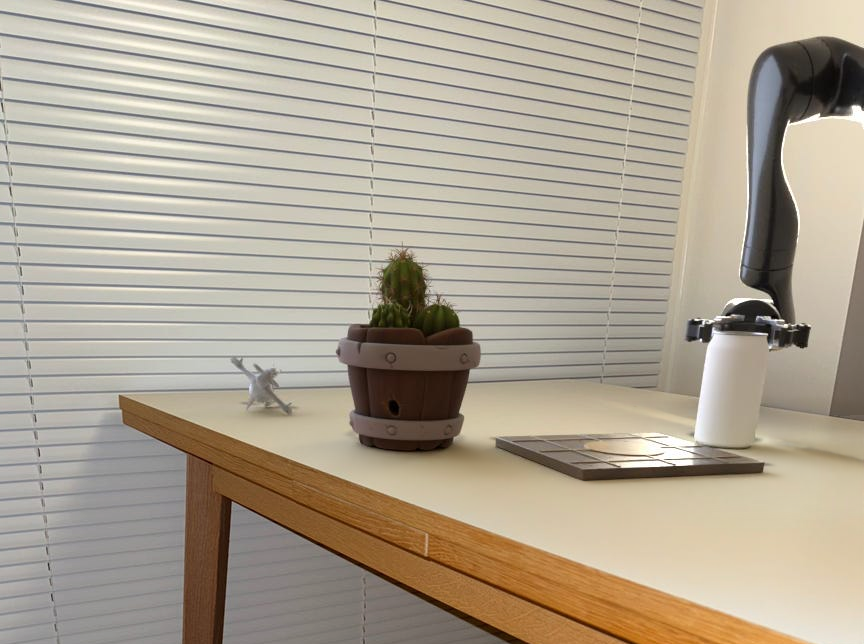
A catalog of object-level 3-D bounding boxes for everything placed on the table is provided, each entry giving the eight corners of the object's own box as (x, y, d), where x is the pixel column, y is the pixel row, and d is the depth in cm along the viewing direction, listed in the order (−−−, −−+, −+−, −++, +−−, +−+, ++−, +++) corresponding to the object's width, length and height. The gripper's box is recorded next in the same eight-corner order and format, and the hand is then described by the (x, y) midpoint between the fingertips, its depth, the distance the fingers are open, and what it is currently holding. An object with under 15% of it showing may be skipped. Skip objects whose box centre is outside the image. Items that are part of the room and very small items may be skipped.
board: (654, 441, 109) (656, 431, 108) (763, 472, 93) (765, 461, 93) (494, 446, 102) (495, 435, 102) (582, 480, 86) (583, 468, 86)
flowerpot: (492, 456, 96) (508, 240, 89) (340, 455, 94) (344, 233, 87) (461, 433, 110) (473, 243, 103) (327, 431, 108) (329, 238, 100)
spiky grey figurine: (307, 408, 126) (308, 391, 117) (276, 441, 126) (274, 427, 117) (250, 355, 125) (246, 334, 116) (219, 388, 125) (212, 370, 116)
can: (763, 445, 109) (782, 333, 104) (738, 451, 104) (757, 335, 100) (709, 437, 113) (725, 330, 108) (682, 443, 108) (698, 331, 104)
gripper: (699, 296, 128) (686, 298, 114) (814, 301, 123) (815, 304, 109) (690, 355, 131) (676, 364, 117) (803, 362, 126) (803, 372, 112)
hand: (744, 335), depth 113 cm, fingers open, 8 cm apart
